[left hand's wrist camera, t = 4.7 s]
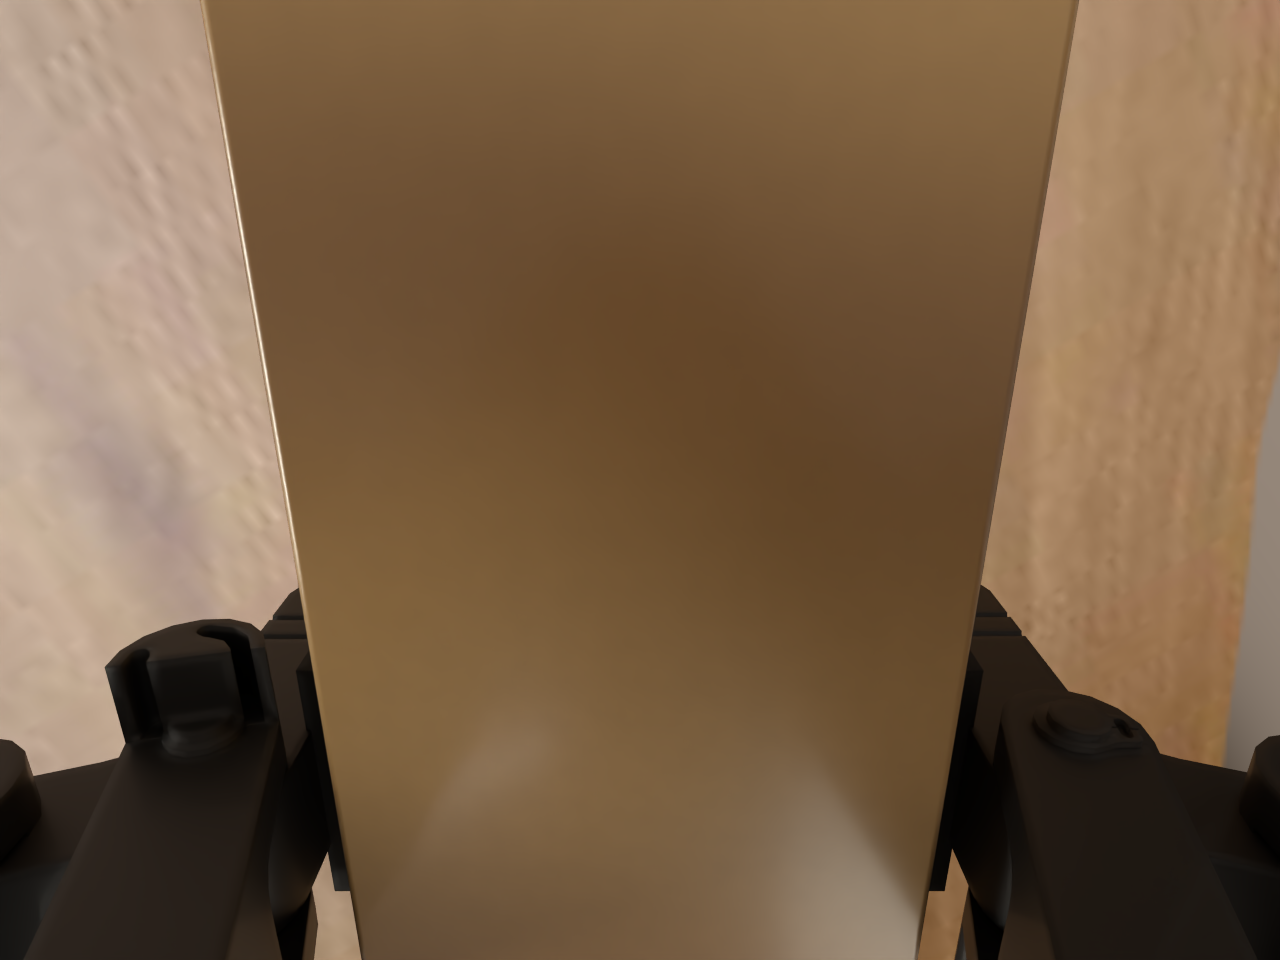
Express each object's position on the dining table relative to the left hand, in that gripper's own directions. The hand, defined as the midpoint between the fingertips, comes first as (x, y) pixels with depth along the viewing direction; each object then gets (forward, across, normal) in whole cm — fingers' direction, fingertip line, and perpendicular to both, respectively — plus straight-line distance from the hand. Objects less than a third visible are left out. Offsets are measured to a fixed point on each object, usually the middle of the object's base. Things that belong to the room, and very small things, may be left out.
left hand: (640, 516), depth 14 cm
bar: (+1, 0, -9) cm, 9 cm away
